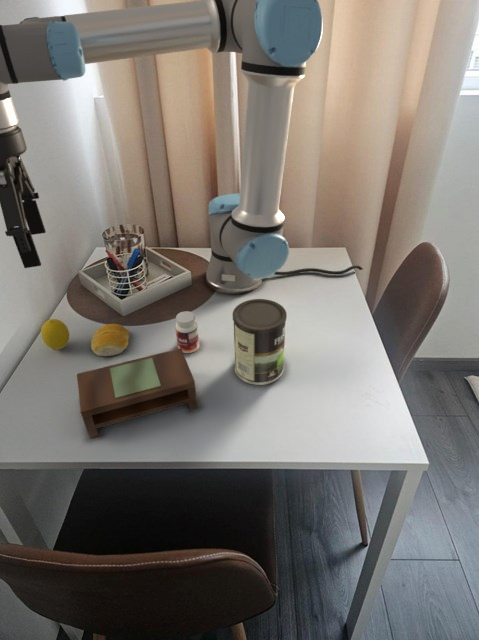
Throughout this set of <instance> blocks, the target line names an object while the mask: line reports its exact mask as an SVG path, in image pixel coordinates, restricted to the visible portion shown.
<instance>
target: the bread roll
mask: <svg viewBox="0 0 479 640" xmlns="http://www.w3.org/2000/svg"><path fill="white" fill-rule="evenodd" d="M129 340H130V331H129V330H128V328H126V327H125V326H124V325H121V324H118V323H108V324H105V325H102V326H100V327H99V328H98V329H97V330H95V332H94V334H93V335H92V336H91V340H90V348H91V351H92V352H93V353H94V354H95V355H97V356H100V357H112V356H117V355H120V354H121V353H122V352H123V351H124V350H126V349H127V347H128V345H129Z"/></svg>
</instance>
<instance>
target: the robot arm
mask: <svg viewBox="0 0 479 640" xmlns="http://www.w3.org/2000/svg"><path fill="white" fill-rule="evenodd" d="M323 30H324V18H323V12H322V8H321V6H320V3H319V1H318V0H192V1H183V2H174V3H173V2H172V3H163V4H156V5H155V4H154V5H146V6H137V7H127V8H119V9H110V10H101V11H99V10H98V11H92V12H90V11H89V12H82V13H73V14H64V15H57V16H47V17H39V16H32V17H26V18H24V19H23V20H21V21H20V22H19V23H13V24H12V23H11V24H3V25H2V24H0V208H1V212H2V216H3V220H4V224H5V228H6V230H5V231H4V233H5V235H6V237H12V239H13V241H14V244H15V246H16V250H17V252H18V254H19V257H20V260H21V263H22V266H23V268H24V269H29V268H35V267H41V266H42V262H41V259H40V256H39V252H38V250H37V247H36V243H35V242H34V238H33V235H39V234H40V235H41V234H46V232H47V231H46V228H45V225H44V222H43V218H42V215H41V213H40V209H39V206H38V203H37V200H38V199H40V195H39V193H38V192H36V189H35V187H34V185H33V183H32V180H31V178H30V176H29V173H28V171H27V168H26V167H25V165H24V161H23V160H22V157H21V155H23V154H24V153H25V152H26V151H27V149H28V148H27V144H26V140H25V137H24V134H23V131H22V128H21V127H19V126H18V124H19V123H20V120H19V115H18V113H17V110H16V107H15V104H14V100H13V97H12V95H11V92H10V90H9V85H12V84H13V85H17V84H22V83H23V84H24V83H35V82H49V81H61V80H62V81H68V80H70V79H77V78H82V77H84V75H85V73H86V65H90V64H96V63H104V62H113V61H119V60H127V59H135V58H141V57H149V56H157V55H165V54H172V53H180V52H186V51H187V52H188V51H195V50H203V49H207V50H208V51H209V52H210V53H211V54H217V53H226V52H227V53H237V54H241V65H240V71H241V73H242V74H243V76H244V77H245V78H246V80H247V82H248V85H247V96H246V107H245V108H246V109H245V121H244V122H245V123H244V124H245V125H244V134H243V135H244V136H243V137H244V138H243V152H242V161H241V162H242V163H241V177H240V189H239V193H229V194H224V195H219V196H216V197H214V198H212V199H211V200H210V201H209V203H208V212H207V216H208V223H209V236H210V250H211V255H210V259H209V261H208V265H207V269H206V272H205V279H206V284H207V286H208V287H209V288H210V289H212V290H213V291H215V292H218V293H221V294H226V295H239V294H240V295H241V294H245V293H249V292H252V291H253V290H256V289H257V288H258V287H259V286H260V285H261V284H262V282H263V279H266V278H269V277H271V276H274V275H275V276H276V275H277V276H287V275H289V276H290V275H295V274H300V273H306V272H307V273H308V272H314V273H323V274H327V275H343V274H347V273H348V272H350V271H352V270H354V269H358V270H359V271H363V270H364V268H363V267H362V266H361V265H359V264H353V265H351V266H349V267H347V268H345V269H342V270H327V269H322V268H315V267H308V268H300V269H293V270H289V271H279V270H281V269H282V268H283V267H284V265H285V264H286V262H287V260H288V258H289V255H290V247H289V244H288V243H289V242H288V241H287V239H286V238H285V237H284V236H283V232H284V225H285V215H284V213H282V211H281V210H280V200H281V193H282V186H283V185H282V184H283V177H284V171H285V163H286V162H285V161H286V155H287V147H288V139H289V131H290V124H291V123H290V122H291V115H292V108H293V100H294V93H295V92H294V90H295V87H296V85H297V84H298V83H299V82H300V81H301V80H302V79H303V78H304V77H305V72H306V66H307V62H308V61H309V60H310V59H311V58H312V56H313V54H314V53H316V51H317V50H318V48H319V47H320V46H319V45H320V43H321V40H322V36H323Z"/></svg>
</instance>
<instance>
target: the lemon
mask: <svg viewBox="0 0 479 640" xmlns="http://www.w3.org/2000/svg"><path fill="white" fill-rule="evenodd" d="M40 335H41V336H40V337H41V339H42V341H43V343H44V344H45V346H46V347H47V348H49V349H51V350H61V349H63V348H65V347H66V346H67V345H68V343H69V341H70V331H69V329H68V326H67V325H66V324H65V323H64V321H62V320H61V319H58V318H57V319H56V318H51V319H48V320H46V321H45V322H44V323H43V324H42V326H41V329H40Z"/></svg>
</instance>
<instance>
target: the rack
mask: <svg viewBox="0 0 479 640" xmlns="http://www.w3.org/2000/svg"><path fill="white" fill-rule="evenodd" d="M76 381H77V389H78V399H79V408H80V414H81V417H82V420H83V424H84V425H85V429H86V431H87V434H88V437H89V439H93V438H96V437H99V431H98V430H99V429H100V428H102V427H104V428H105V427H107V426H111V425H114V424H118V423H121V422H125V421H128V420H132V419H136V418H139V417H143V416H146V415H150V414H155V413H158V412H161V411H165V410H168V409H171V408H176V407H178V406H182V405H186V404H187V405H188V407H189V410H190V411H191V410H194V409H198V398H197V390H196V381H195V379H194V376H193V374H192V371H191V368H190V366H189V363H188V361H187V359H186V355H185V353H183V351H182V349H181V348H180V349H178V348H176V349H172V350H168V351H164V352H160V353H156V354H151V355H147V356H144V357H143V356H142V357H139V358H136V359H131V360H126V361H123V362H119V363H115V364H110V365H107V366H102V367H99V368H94V369H91V370H90V369H89V370H87V371H82V372H77V373H76Z"/></svg>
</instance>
